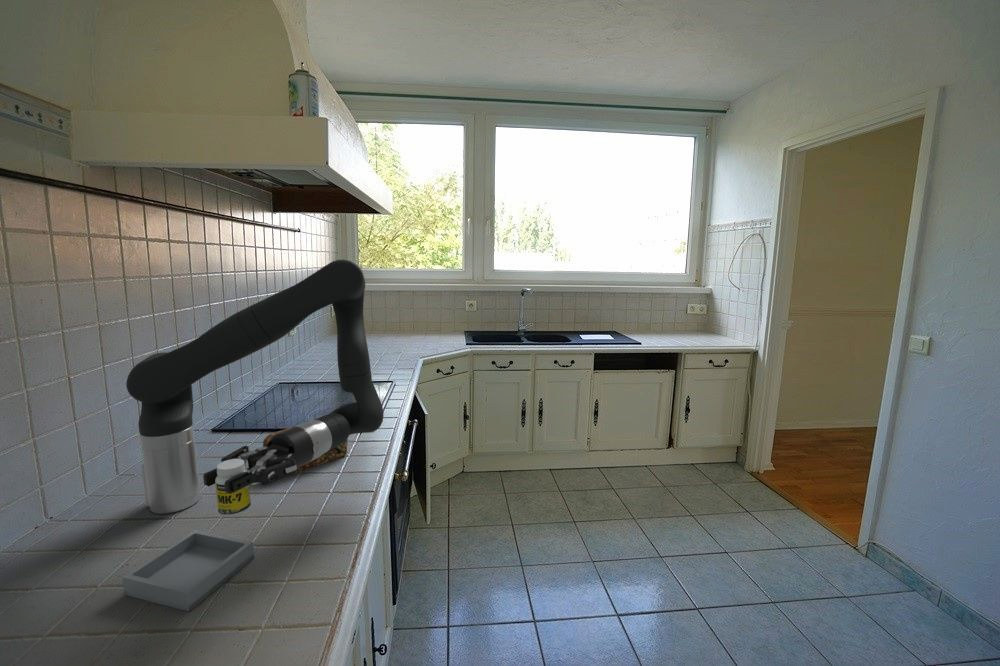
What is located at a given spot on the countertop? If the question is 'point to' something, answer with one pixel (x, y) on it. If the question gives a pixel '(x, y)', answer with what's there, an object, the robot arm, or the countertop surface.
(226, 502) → the supplement bottle
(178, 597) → the bin
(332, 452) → the bread
